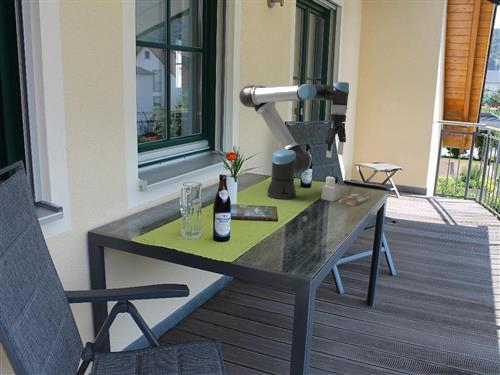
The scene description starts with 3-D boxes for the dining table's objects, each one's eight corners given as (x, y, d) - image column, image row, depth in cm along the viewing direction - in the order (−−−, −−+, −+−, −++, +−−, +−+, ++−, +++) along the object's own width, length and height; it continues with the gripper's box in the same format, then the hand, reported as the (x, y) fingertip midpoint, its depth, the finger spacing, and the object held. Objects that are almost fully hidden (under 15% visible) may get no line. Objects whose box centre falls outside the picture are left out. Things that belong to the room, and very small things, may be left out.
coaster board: (337, 202, 247) (338, 199, 247) (352, 196, 264) (353, 192, 264) (354, 205, 243) (355, 202, 242) (369, 198, 259) (369, 195, 259)
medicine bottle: (327, 197, 259) (329, 174, 256) (339, 199, 255) (341, 176, 252) (320, 199, 253) (322, 176, 250) (333, 201, 249) (335, 178, 246)
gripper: (335, 115, 232) (331, 159, 237) (355, 113, 253) (350, 154, 257) (321, 113, 236) (317, 157, 241) (341, 112, 257) (337, 152, 261)
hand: (334, 156), depth 249 cm, fingers open, 13 cm apart
